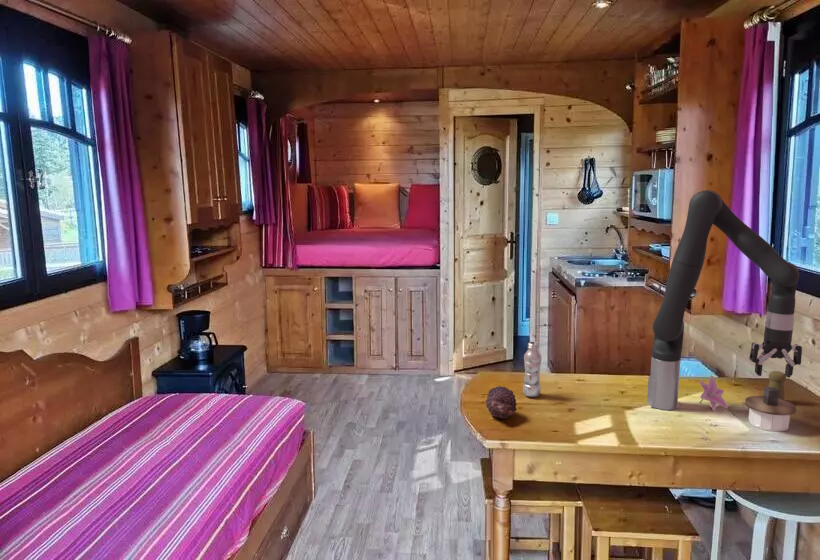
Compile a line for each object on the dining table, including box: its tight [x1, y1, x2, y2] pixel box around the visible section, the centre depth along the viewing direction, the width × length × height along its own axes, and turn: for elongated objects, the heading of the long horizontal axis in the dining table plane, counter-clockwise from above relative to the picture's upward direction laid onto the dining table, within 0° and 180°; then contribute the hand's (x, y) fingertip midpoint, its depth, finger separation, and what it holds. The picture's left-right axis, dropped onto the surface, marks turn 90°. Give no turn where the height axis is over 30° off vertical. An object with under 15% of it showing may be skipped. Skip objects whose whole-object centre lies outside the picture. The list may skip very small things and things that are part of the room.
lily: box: [698, 375, 729, 412], centre depth 207 cm, size 12×12×10 cm
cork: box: [768, 370, 787, 401], centre depth 210 cm, size 6×6×11 cm
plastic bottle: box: [522, 341, 543, 398], centre depth 216 cm, size 6×7×20 cm
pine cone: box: [485, 385, 518, 420], centre depth 199 cm, size 18×10×10 cm, turn 6°
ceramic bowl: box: [748, 408, 791, 433], centre depth 191 cm, size 11×11×6 cm
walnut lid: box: [744, 386, 797, 416], centre depth 190 cm, size 14×14×6 cm
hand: (773, 375), depth 189 cm, fingers open, 8 cm apart
